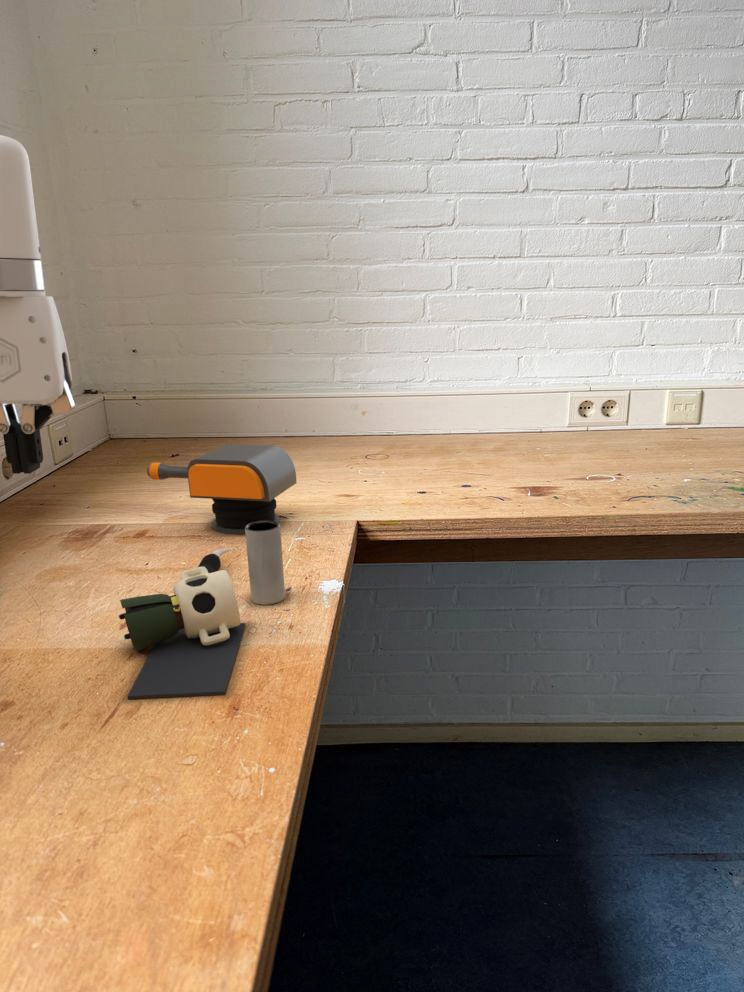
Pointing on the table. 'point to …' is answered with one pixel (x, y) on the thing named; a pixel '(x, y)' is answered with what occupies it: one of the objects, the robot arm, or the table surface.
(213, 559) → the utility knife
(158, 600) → the character mug
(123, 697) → the table surface
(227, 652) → the mat
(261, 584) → the grey hollow cylinder
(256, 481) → the toy turret
